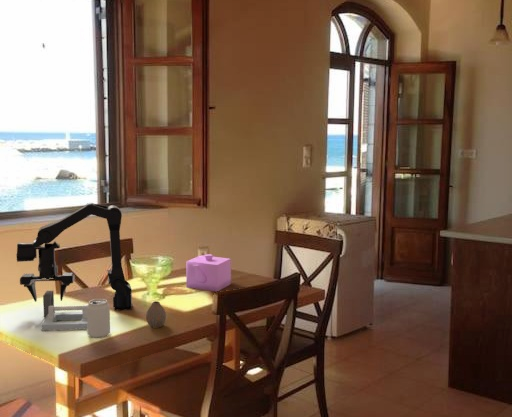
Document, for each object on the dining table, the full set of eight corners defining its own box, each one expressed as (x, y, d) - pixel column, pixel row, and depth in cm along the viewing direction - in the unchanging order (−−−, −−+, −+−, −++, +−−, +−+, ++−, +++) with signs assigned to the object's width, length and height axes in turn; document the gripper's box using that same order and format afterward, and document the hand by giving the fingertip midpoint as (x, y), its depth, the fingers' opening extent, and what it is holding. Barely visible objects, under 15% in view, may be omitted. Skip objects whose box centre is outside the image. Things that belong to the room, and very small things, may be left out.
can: (89, 331, 208) (88, 297, 206) (111, 331, 209) (111, 297, 207) (85, 339, 201) (84, 304, 199) (108, 339, 201) (107, 304, 200)
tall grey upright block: (54, 310, 230) (53, 290, 229) (50, 316, 223) (49, 295, 222) (47, 310, 229) (46, 290, 228) (43, 316, 223) (43, 296, 222)
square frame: (93, 316, 223) (93, 299, 222) (89, 328, 211) (88, 310, 210) (49, 318, 221) (48, 300, 220) (41, 330, 208) (40, 312, 207)
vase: (157, 330, 210) (156, 306, 208) (142, 327, 213) (141, 303, 212) (170, 325, 215) (169, 301, 214) (155, 321, 219) (155, 298, 218)
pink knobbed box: (177, 291, 257) (177, 259, 255) (205, 277, 279) (205, 248, 277) (209, 296, 251) (209, 263, 249) (235, 281, 273) (235, 251, 271)
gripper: (76, 254, 232) (77, 293, 235) (25, 255, 230) (27, 295, 232) (71, 261, 222) (73, 302, 224) (18, 262, 219) (20, 304, 221)
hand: (48, 300), depth 226 cm, fingers open, 9 cm apart
